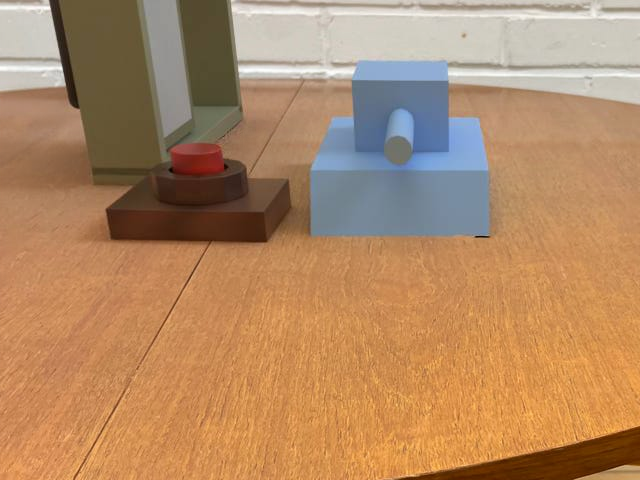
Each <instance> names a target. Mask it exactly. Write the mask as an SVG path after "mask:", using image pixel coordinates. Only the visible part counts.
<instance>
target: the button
mask: <svg viewBox="0 0 640 480" xmlns="http://www.w3.org/2000/svg"><path fill="white" fill-rule="evenodd" d="M170 156H171V162H172V169H173V173H174V174H180V175H205V174H214V173H218V172H221V171H225V169H224V161H223V158H224V153H223V148H222V146H221V145H219V144H216V143H215V144H211V143H189V144H182V145H177V146H174V147H172V148H171V149H170Z"/></svg>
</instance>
